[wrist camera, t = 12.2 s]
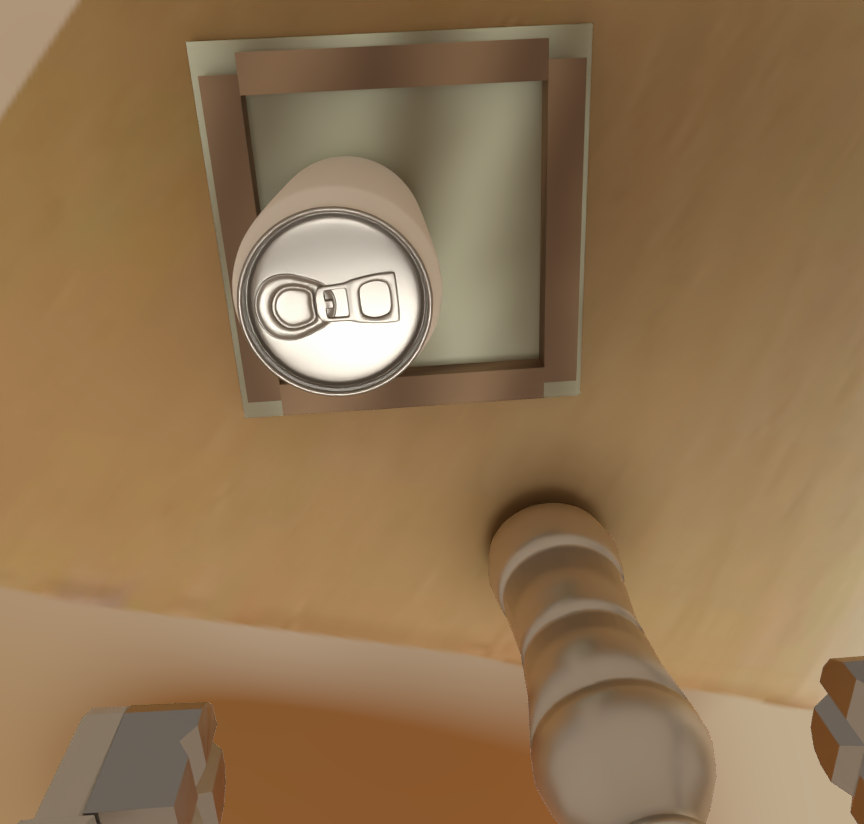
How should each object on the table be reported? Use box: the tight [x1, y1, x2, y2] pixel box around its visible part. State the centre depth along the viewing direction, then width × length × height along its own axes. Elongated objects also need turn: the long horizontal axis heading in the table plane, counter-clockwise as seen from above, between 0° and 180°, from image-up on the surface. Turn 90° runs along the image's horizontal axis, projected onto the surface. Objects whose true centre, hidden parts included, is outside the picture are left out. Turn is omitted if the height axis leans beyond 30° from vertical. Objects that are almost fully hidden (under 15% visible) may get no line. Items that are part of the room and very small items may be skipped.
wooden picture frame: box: [186, 23, 593, 418], centre depth 33 cm, size 16×16×2 cm
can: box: [232, 156, 442, 397], centre depth 27 cm, size 6×6×12 cm
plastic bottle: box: [488, 503, 716, 824], centre depth 32 cm, size 6×7×20 cm
